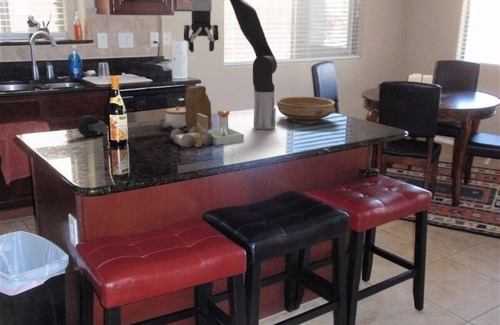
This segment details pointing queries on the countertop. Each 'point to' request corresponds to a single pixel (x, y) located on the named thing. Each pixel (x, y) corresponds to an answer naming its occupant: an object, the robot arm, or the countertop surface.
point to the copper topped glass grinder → (223, 122)
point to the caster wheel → (91, 126)
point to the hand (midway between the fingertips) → (201, 51)
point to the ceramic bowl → (305, 108)
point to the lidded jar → (176, 117)
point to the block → (196, 105)
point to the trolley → (194, 134)
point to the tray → (232, 137)
